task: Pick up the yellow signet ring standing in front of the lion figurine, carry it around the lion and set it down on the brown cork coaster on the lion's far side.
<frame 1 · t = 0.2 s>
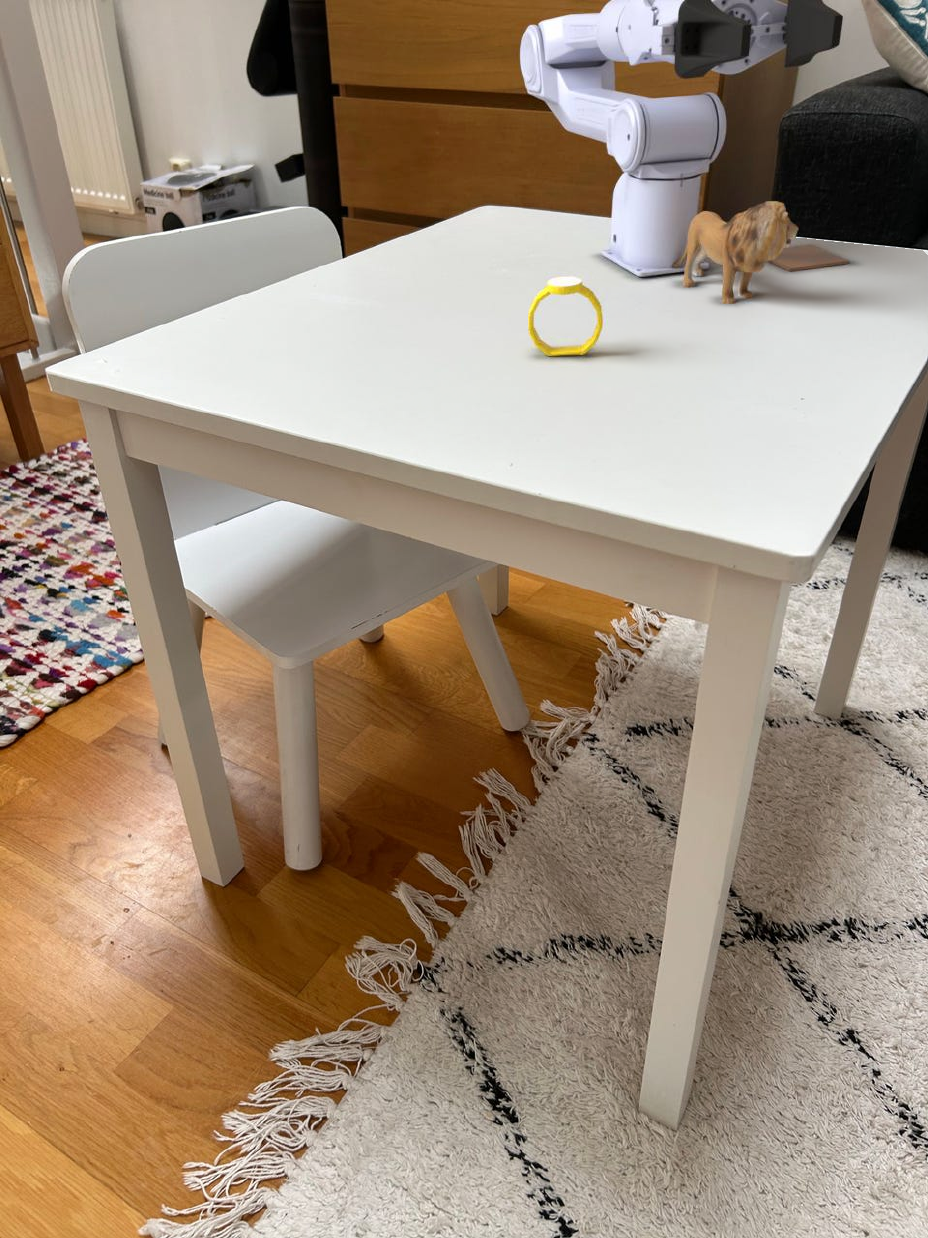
hand: (792, 35, 72), 22 cm above the table, tool horizontal, fingers open, 7 cm apart
lion figurine: (723, 293, 93), on the table, touching arm
yellow signet ring: (564, 356, 80), on the table
coaster: (799, 258, 100), on the table
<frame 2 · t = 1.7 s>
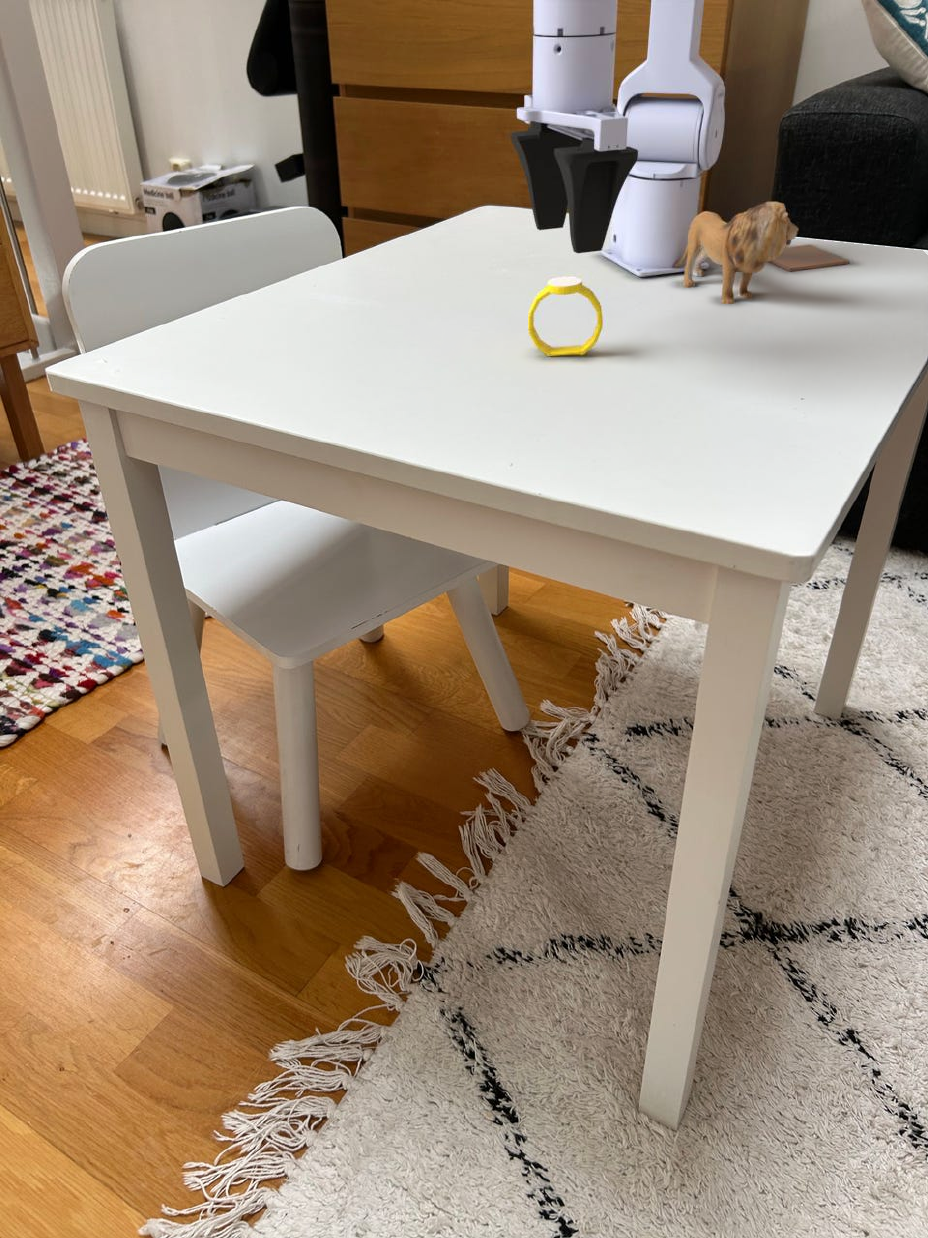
hand: (567, 239, 74), 9 cm above the table, tool pointing down, fingers open, 7 cm apart
nothing on the table moved.
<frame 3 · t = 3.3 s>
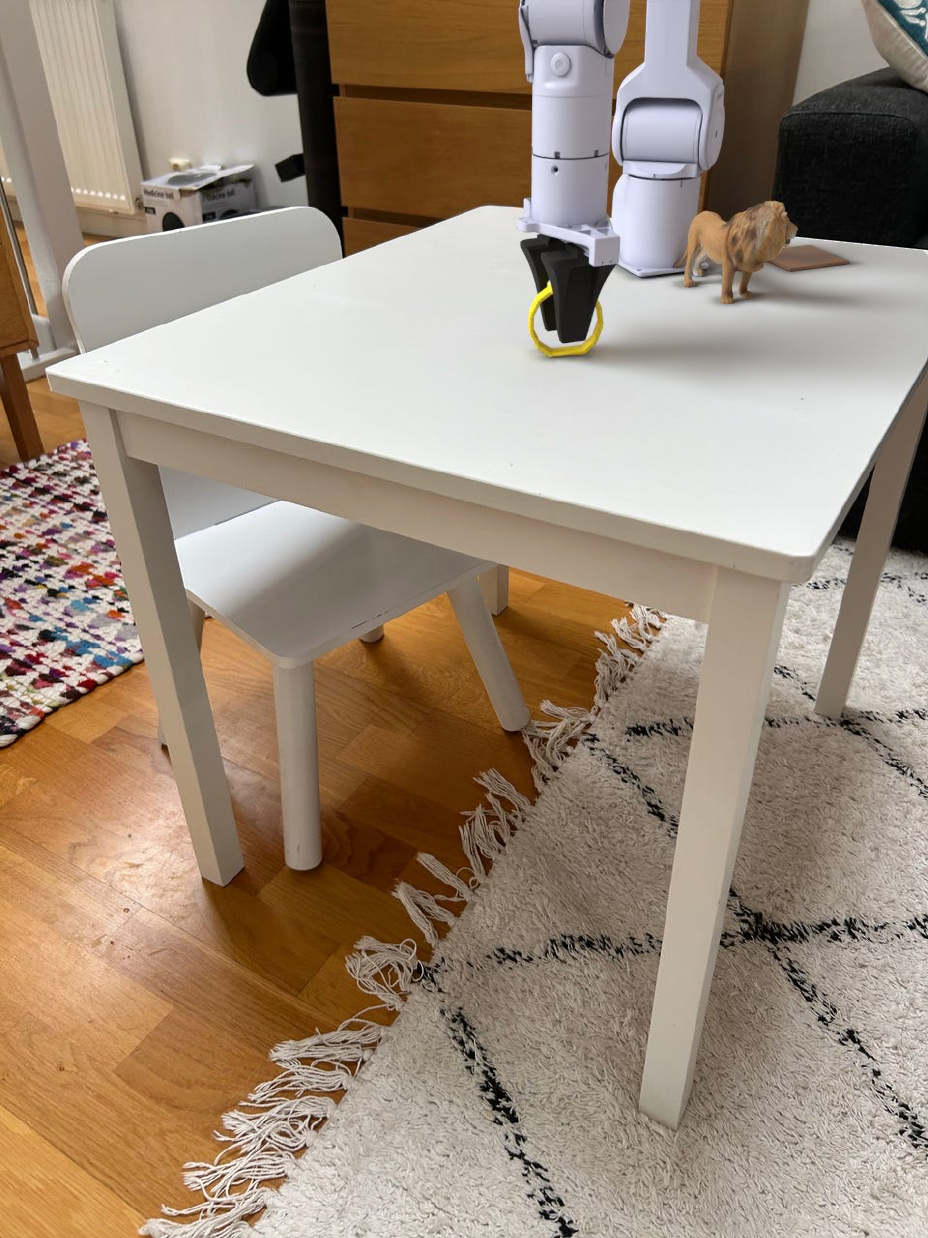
hand: (564, 334, 78), 2 cm above the table, tool pointing down, fingers closed on yellow signet ring, 2 cm apart
yellow signet ring: (564, 356, 79), on the table, touching gripper
everything else where it was.
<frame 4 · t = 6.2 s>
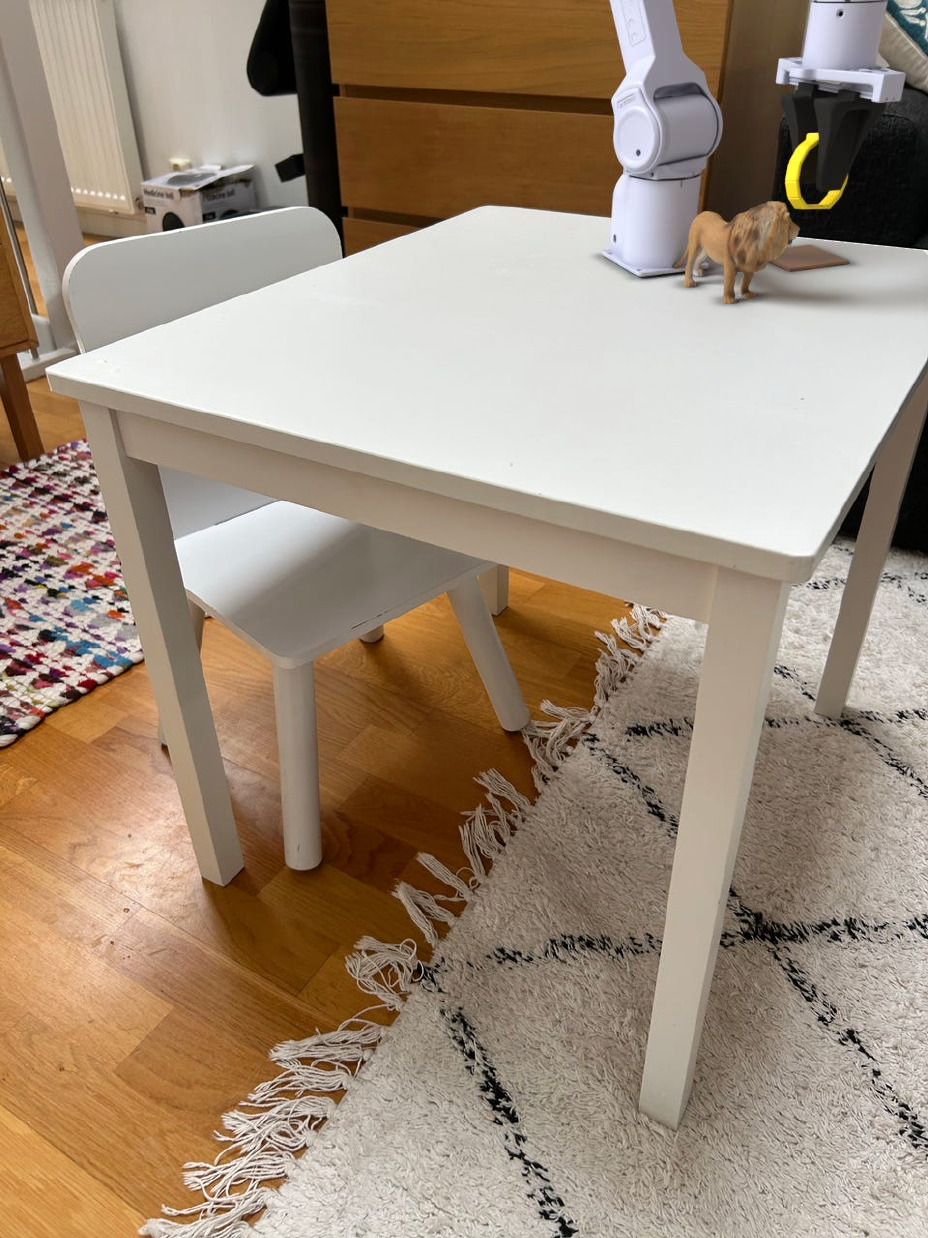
hand: (817, 186, 83), 10 cm above the table, tool pointing down, fingers closed on yellow signet ring, 3 cm apart
lion figurine: (724, 294, 93), on the table, touching arm, yellow signet ring
yellow signet ring: (810, 212, 84), point 8 cm above the table, touching gripper, lion figurine
when the fingers open (2 cm above the table, at t = 9.4 s): yellow signet ring stays where it is, resting on coaster.
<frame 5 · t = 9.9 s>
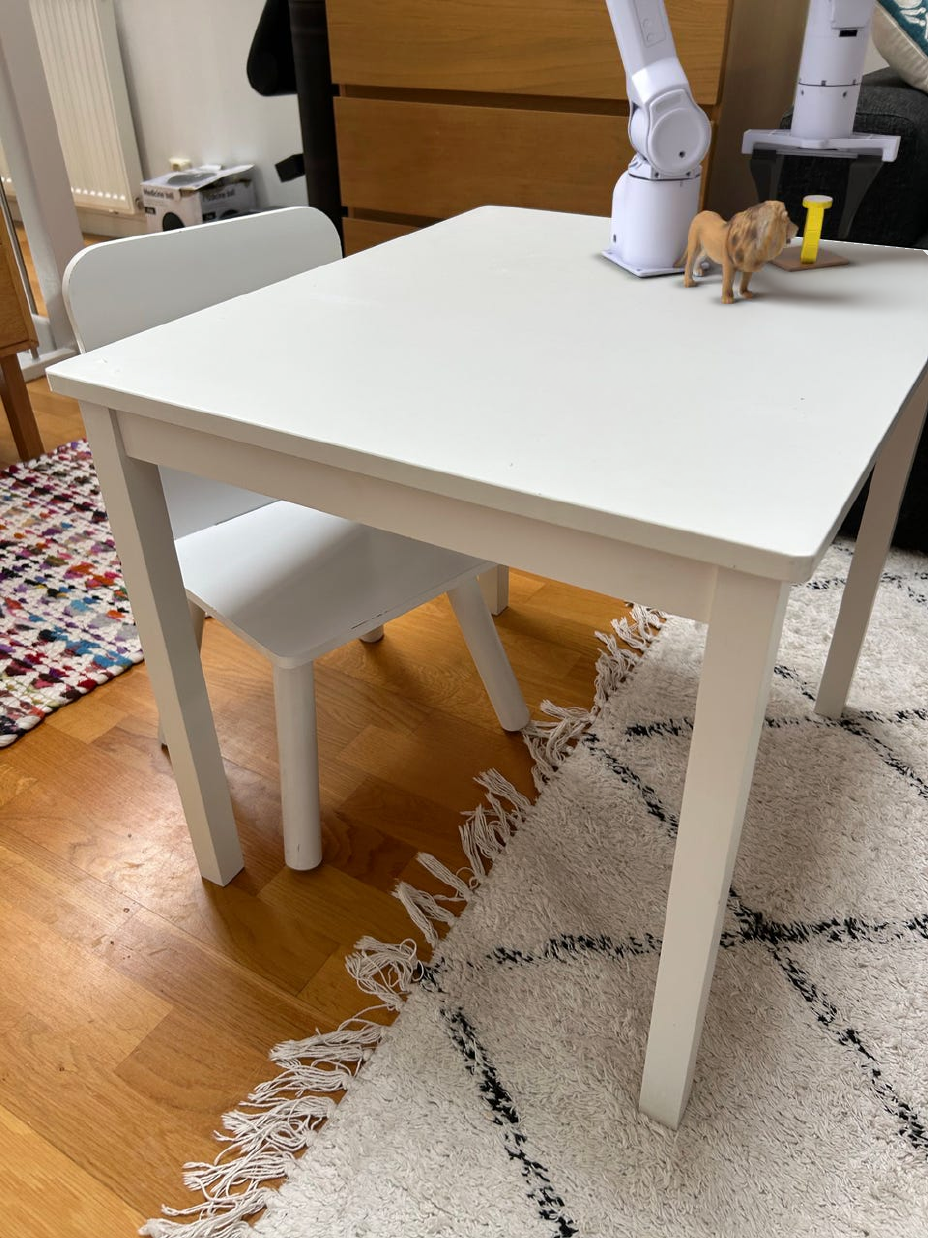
hand: (804, 232, 99), 3 cm above the table, tool pointing down, fingers open, 7 cm apart
lion figurine: (723, 293, 93), on the table, touching arm
yellow signet ring: (807, 261, 99), resting on coaster
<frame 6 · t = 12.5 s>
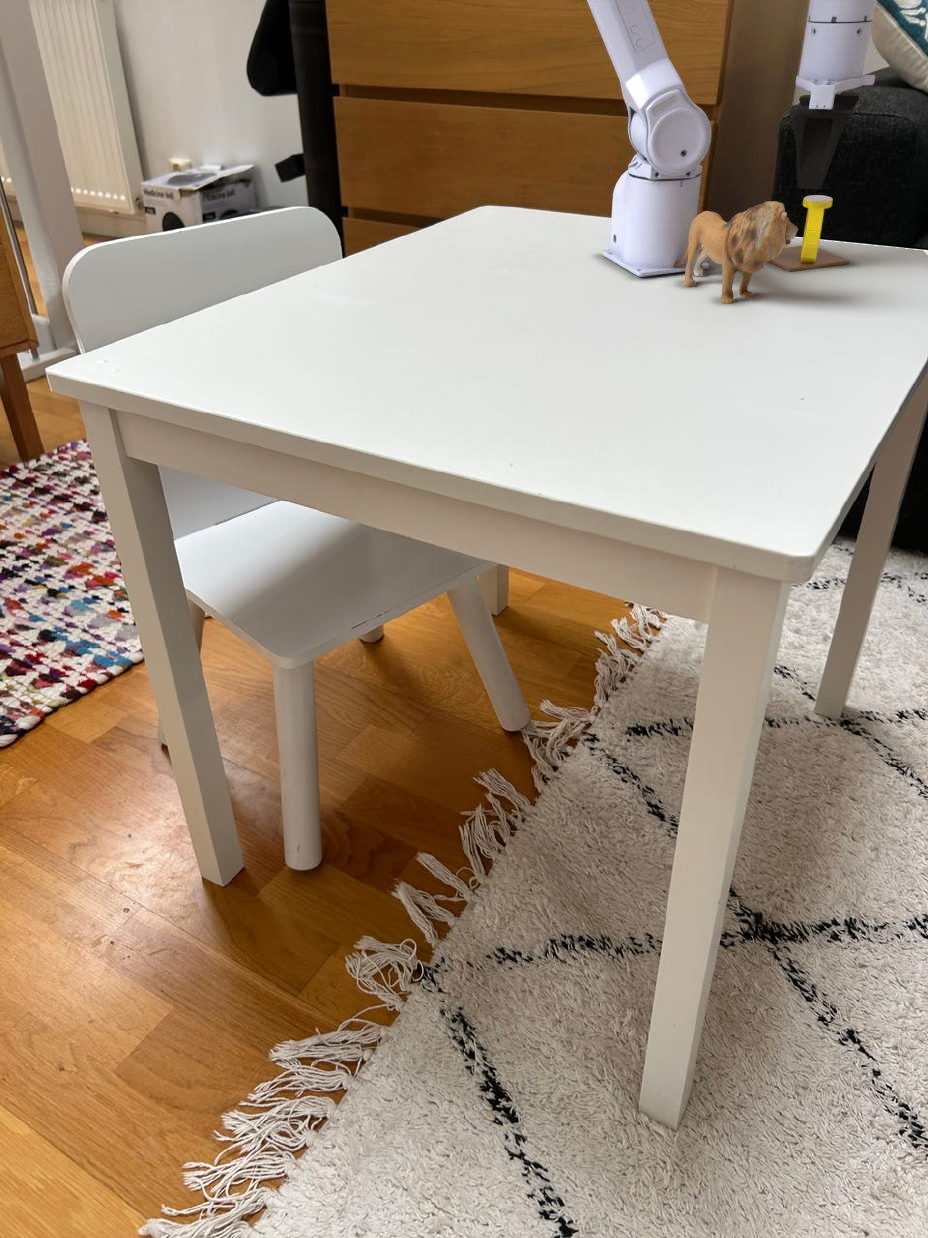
hand: (812, 180, 96), 8 cm above the table, tool pointing down, fingers open, 7 cm apart
nothing on the table moved.
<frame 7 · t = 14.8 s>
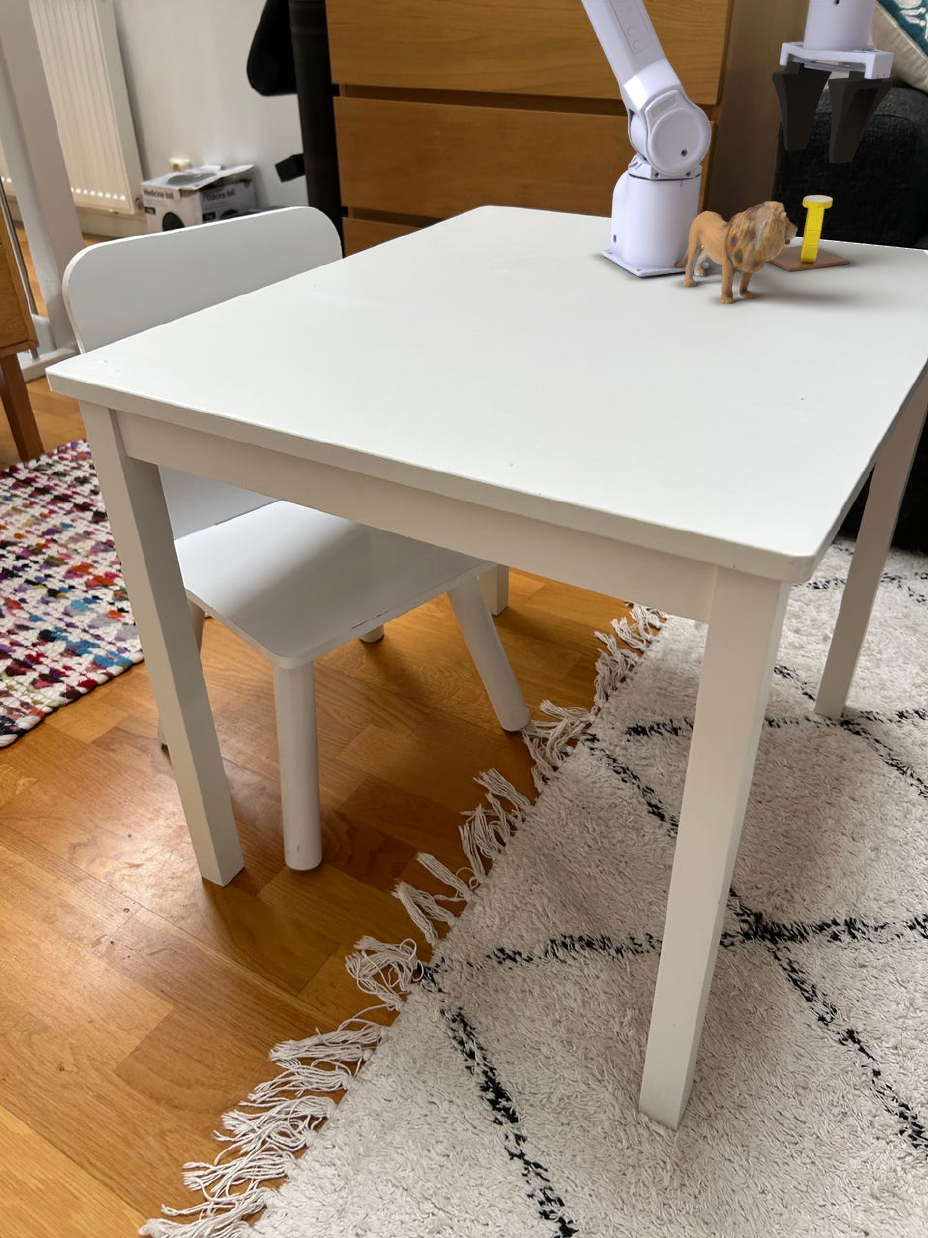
hand: (817, 155, 95), 10 cm above the table, tool pointing down, fingers open, 7 cm apart
nothing on the table moved.
at the end: yellow signet ring 1.4 cm off-centre on the coaster, point 0.1 cm above the coaster's base; yellow signet ring tilted 0°; lion figurine moved 0.1 cm from its start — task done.
